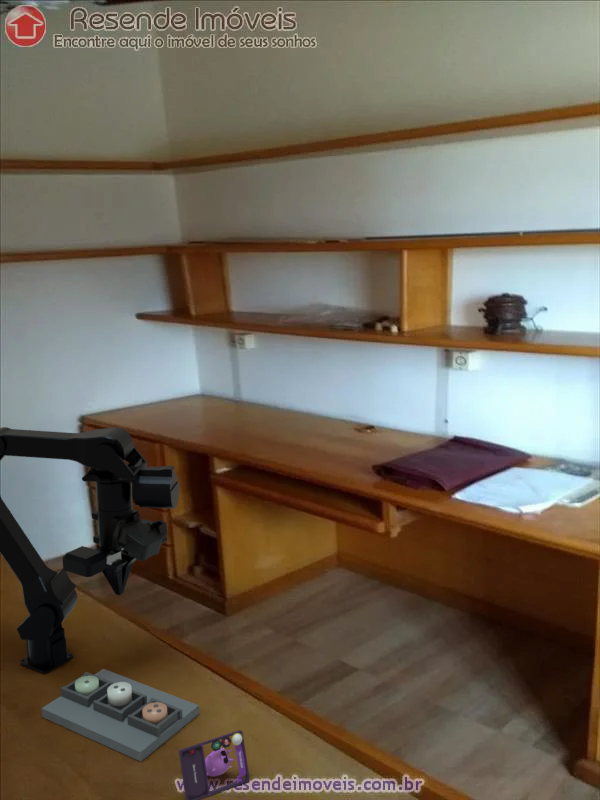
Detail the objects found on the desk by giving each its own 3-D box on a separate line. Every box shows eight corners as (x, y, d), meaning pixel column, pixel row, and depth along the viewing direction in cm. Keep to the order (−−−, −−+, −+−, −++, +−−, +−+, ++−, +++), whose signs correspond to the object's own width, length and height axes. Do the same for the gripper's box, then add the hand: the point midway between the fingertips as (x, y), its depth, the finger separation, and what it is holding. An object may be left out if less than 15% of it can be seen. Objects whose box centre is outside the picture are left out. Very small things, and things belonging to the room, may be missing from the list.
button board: (42, 717, 121) (40, 700, 120) (104, 676, 131) (103, 661, 131) (140, 761, 110) (139, 743, 110) (199, 714, 121) (198, 697, 121)
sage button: (70, 694, 124) (69, 683, 123) (87, 683, 127) (87, 672, 126) (87, 701, 122) (86, 690, 121) (104, 690, 125) (103, 679, 124)
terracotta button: (137, 722, 116) (137, 711, 116) (154, 710, 119) (153, 699, 119) (156, 730, 115) (155, 719, 114) (172, 717, 118) (172, 706, 117)
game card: (181, 752, 102) (244, 731, 106) (168, 743, 107) (229, 723, 111) (189, 805, 102) (252, 782, 106) (176, 794, 106) (237, 772, 110)
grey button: (102, 701, 120) (102, 690, 119) (119, 689, 123) (119, 679, 122) (120, 708, 118) (119, 697, 118) (137, 696, 121) (136, 685, 121)
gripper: (109, 533, 117) (115, 630, 121) (189, 498, 133) (192, 584, 136) (57, 519, 123) (63, 612, 126) (139, 487, 139) (143, 570, 142)
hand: (119, 594), depth 132 cm, fingers closed
